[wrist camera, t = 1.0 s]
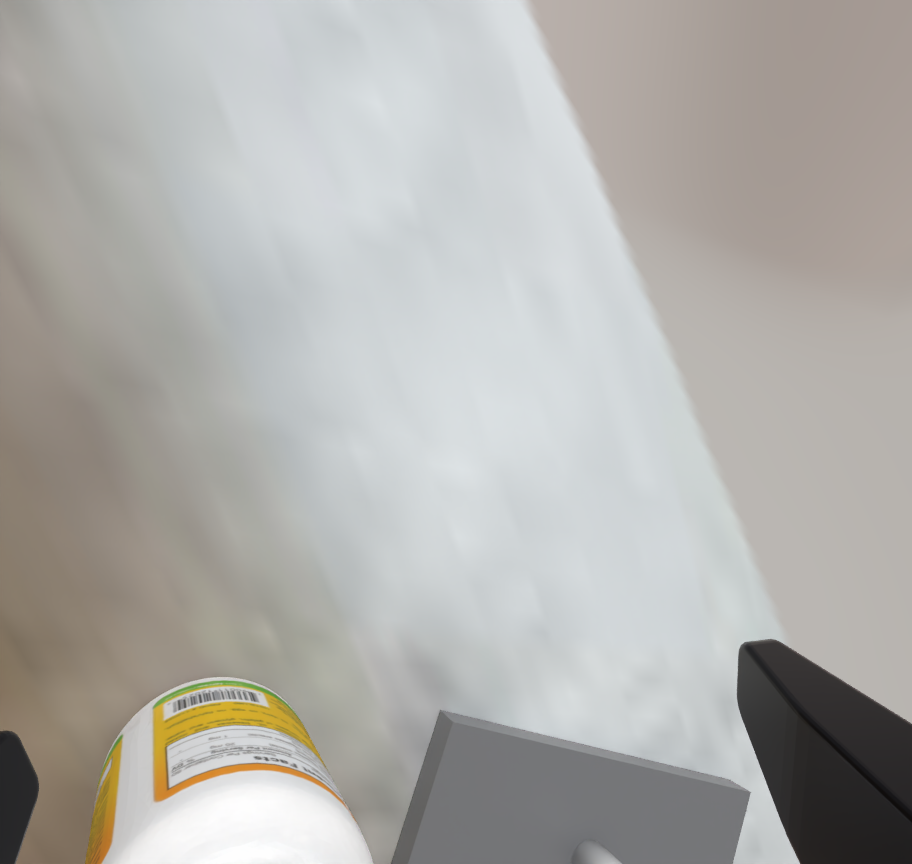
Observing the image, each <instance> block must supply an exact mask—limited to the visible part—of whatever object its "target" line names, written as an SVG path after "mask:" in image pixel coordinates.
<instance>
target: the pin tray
mask: <svg viewBox="0 0 912 864" xmlns="http://www.w3.org/2000/svg"><path fill="white" fill-rule="evenodd" d="M750 793H751V792H750V791H748V790H746V789H745V788H743V787H741V786H739V785H738V784H736V783H734V782H733V781H731V780H728V779H724V778H720V777H716V776H712V775H708V774H703V773H699V772H695V771H691V770H687V769H683V768H678V767H674V766H670V765H666V764H662V763H658V762H654V761H649V760H645V759H641V758H637V757H633V756H629V755H624V754H620V753H616V752H612V751H608V750H604V749H600V748H595V747H591V746H587V745H583V744H579V743H575V742H570V741H566V740H562V739H558V738H554V737H550V736H546V735H541V734H537V733H533V732H529V731H525V730H521V729H516V728H512V727H508V726H504V725H500V724H496V723H492V722H487V721H483V720H479V719H475V718H471V717H467V716H462V715H458V714H454V713H450V712H446V711H442V710H440V713H439V716H438V719H437V723H436V726H435V729H434V732H433V735H432V738H431V741H430V744H429V748H428V751H427V754H426V757H425V760H424V763H423V766H422V769H421V772H420V776H419V779H418V782H417V785H416V788H415V791H414V794H413V797H412V801H411V804H410V807H409V810H408V813H407V816H406V819H405V822H404V825H403V829H402V832H401V835H400V838H399V841H398V844H397V847H396V850H395V854H394V857H393V860H392V863H391V864H733V860H734V856H735V852H736V848H737V844H738V840H739V836H740V832H741V828H742V824H743V820H744V816H745V812H746V808H747V805H748V801H749V797H750Z"/></svg>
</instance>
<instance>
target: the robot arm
mask: <svg viewBox="0 0 912 864" xmlns="http://www.w3.org/2000/svg"><path fill="white" fill-rule="evenodd" d="M737 701H738V706H739V710H740V714H741V717H742V719H743V722H744V725H745V727H746V730H747V733H748V735H749V738H750V740H751V743H752V746H753V748H754V751H755V754H756V756H757V759H758V762H759V764H760V767H761V769H762V772H763V775H764V777H765V780H766V783H767V785H768V788H769V791H770V793H771V796H772V798H773V801H774V804H775V806H776V809H777V812H778V814H779V817H780V819H781V822H782V824H783V827H784V829H785V832H786V834H787V837H788V839H789V841H790V843H791V845H792V847H793V849H794V851H795V854H796V856H797V858H798V860H799V862H800V864H912V724H911V723H910V722H908V721H907V720H905V719H903V718H902V717H900V716H898V715H897V714H895V713H894V712H892V711H890V710H889V709H887V708H885V707H884V706H882V705H881V704H879V703H877V702H876V701H874V700H873V699H871V698H870V697H868V696H866V695H865V694H863V693H861V692H860V691H858V690H857V689H855V688H853V687H852V686H850V685H849V684H847V683H845V682H844V681H842V680H841V679H839V678H837V677H836V676H834V675H832V674H831V673H829V672H828V671H826V670H825V669H823V668H821V667H820V666H818V665H816V664H815V663H813V662H812V661H810V660H808V659H807V658H805V657H804V656H802V655H800V654H799V653H797V652H796V651H794V650H792V649H791V648H789V647H788V646H786V645H784V644H783V643H781V642H779V641H777V640H774V639H767V640H759V641H750V642H745V643H743V644H742V645H741V646H740V649H739V655H738V679H737ZM38 791H39V783H38V777H37V774H36V772H35V770H34V768H33V766H32V764H31V762H30V759H29V757H28V755H27V753H26V751H25V749H24V747H23V745H22V742H21V740H20V738H19V737H18V735H16V734H15V733H14V732H12V731H0V864H16V861H17V858H18V855H19V852H20V849H21V846H22V843H23V840H24V837H25V834H26V831H27V828H28V825H29V822H30V819H31V816H32V813H33V810H34V807H35V804H36V801H37V797H38Z"/></svg>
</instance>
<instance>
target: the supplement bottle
mask: <svg viewBox="0 0 912 864" xmlns="http://www.w3.org/2000/svg"><path fill="white" fill-rule="evenodd" d="M85 864H373V860H372V856H371V854H370V851H369V849H368V846H367V844H366V841H365V839H364V837H363V835H362V833H361V831H360V828H359V826H358V824H357V822H356V821H355V819H354V817H353V816H352V814H351V811H350V809H349V808H348V807H347V805H346V803H345V801H344V800H343V798H342V796H341V794H340V792H339V791H338V789H337V787H336V785H335V783H334V781H333V779H332V777H331V776H330V774H329V772H328V770H327V768H326V766H325V765H324V763H323V761H322V759H321V757H320V755H319V753H318V752H317V750H316V748H315V746H314V744H313V742H312V740H311V739H310V737H309V735H308V733H307V731H306V729H305V727H304V725H303V724H302V722H301V721H300V719H299V718H298V716H297V715H296V713H295V712H294V710H293V709H292V708H291V707H290V705H289V704H288V703H287V702H286V701H285V700H284V699H283V698H282V697H280V696H279V695H278V694H276V693H275V692H273V691H272V690H270V689H269V688H266V687H264V686H262V685H260V684H257V683H255V682H252V681H248V680H244V679H238V678H231V677H213V678H205V679H200V680H196V681H191V682H188V683H185V684H182V685H180V686H177V687H175V688H173V689H171V690H169V691H167V692H165V693H163V694H161V695H160V696H158V697H157V698H155V699H154V700H152V701H151V702H150V703H148V704H147V705H146V706H144V707H143V708H142V709H141V710H140V711H139V712H138V713H137V714H135V715H134V717H133V718H132V719H131V720H130V721H129V722H128V723H127V724H126V726H125V727H124V728H123V729H122V731H121V732H120V734H119V735H118V737H117V738H116V740H115V741H114V743H113V745H112V747H111V749H110V751H109V753H108V755H107V757H106V760H105V762H104V765H103V768H102V771H101V775H100V779H99V783H98V787H97V793H96V799H95V805H94V813H93V819H92V825H91V832H90V837H89V844H88V850H87V854H86V861H85Z"/></svg>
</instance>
